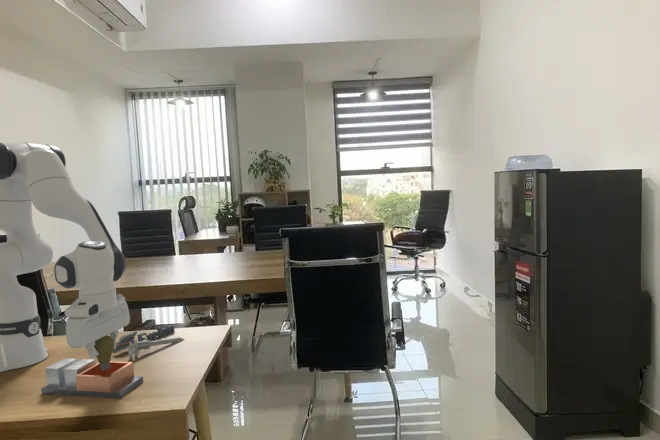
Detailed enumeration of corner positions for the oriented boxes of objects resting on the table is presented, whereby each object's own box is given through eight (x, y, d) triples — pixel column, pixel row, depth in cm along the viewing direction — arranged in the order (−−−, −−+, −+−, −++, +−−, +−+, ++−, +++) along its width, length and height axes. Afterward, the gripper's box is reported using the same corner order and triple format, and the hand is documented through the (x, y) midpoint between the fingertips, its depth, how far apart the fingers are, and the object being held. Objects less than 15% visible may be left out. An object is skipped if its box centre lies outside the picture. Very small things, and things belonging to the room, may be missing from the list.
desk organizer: (41, 393, 125) (39, 370, 124) (69, 377, 135) (67, 356, 134) (119, 398, 120) (117, 374, 119) (143, 381, 129) (141, 359, 129)
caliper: (131, 360, 147) (129, 341, 146) (129, 359, 147) (127, 340, 147) (184, 340, 163) (183, 323, 163) (182, 339, 164) (181, 322, 163)
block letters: (115, 356, 150) (114, 340, 150) (112, 356, 151) (110, 339, 151) (174, 332, 172) (173, 317, 172) (171, 332, 173) (170, 317, 173)
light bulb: (102, 376, 122) (98, 339, 121) (89, 373, 125) (85, 337, 124) (121, 368, 127) (117, 333, 126) (109, 365, 130) (105, 330, 129)
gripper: (114, 292, 135) (118, 338, 136) (59, 312, 115) (64, 366, 116) (133, 292, 134) (137, 339, 135) (80, 313, 114) (86, 367, 115)
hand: (103, 352), depth 125 cm, fingers closed on light bulb, 6 cm apart
